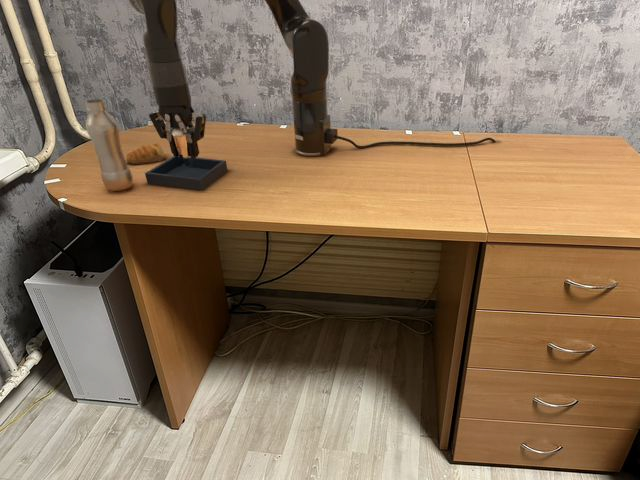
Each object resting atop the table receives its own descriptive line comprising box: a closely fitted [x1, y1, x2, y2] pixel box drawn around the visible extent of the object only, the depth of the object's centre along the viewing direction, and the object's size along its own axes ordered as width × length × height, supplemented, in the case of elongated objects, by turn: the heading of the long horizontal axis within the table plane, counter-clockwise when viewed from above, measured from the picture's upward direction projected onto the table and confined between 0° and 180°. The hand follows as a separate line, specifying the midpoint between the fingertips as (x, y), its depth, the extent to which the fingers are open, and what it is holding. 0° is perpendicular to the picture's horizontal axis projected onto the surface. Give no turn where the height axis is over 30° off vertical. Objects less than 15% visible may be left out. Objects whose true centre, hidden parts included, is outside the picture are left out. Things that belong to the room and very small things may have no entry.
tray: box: [144, 155, 229, 192], centre depth 118 cm, size 15×13×3 cm
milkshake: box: [172, 127, 195, 167], centre depth 114 cm, size 4×5×10 cm
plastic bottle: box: [85, 98, 134, 191], centre depth 108 cm, size 6×7×20 cm
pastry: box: [125, 142, 166, 165], centre depth 128 cm, size 9×7×4 cm
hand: (186, 156), depth 116 cm, fingers closed on milkshake, 4 cm apart
